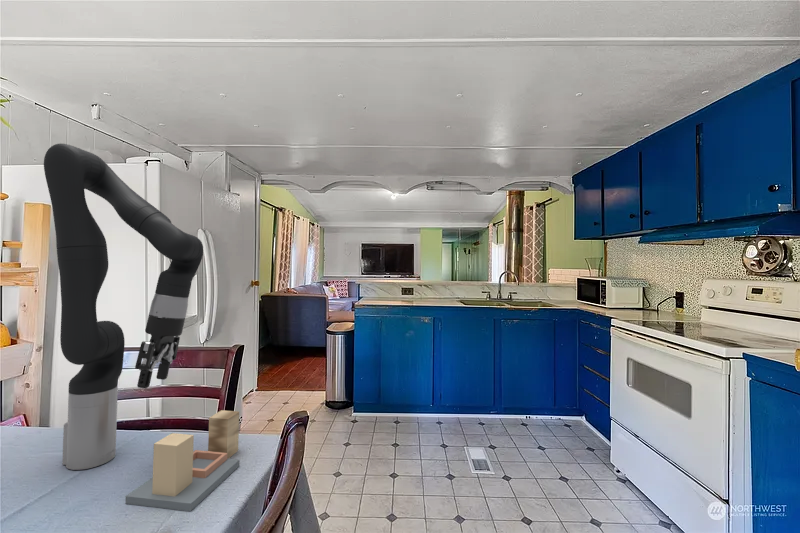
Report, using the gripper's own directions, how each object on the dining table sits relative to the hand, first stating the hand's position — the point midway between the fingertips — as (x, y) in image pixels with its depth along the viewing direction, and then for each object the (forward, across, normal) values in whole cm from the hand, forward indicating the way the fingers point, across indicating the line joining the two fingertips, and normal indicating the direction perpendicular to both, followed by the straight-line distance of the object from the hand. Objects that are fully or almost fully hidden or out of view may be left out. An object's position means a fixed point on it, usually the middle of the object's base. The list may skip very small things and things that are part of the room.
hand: (152, 383), depth 88 cm
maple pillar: (+17, -6, +18) cm, 25 cm away
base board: (+18, +6, +14) cm, 24 cm away
